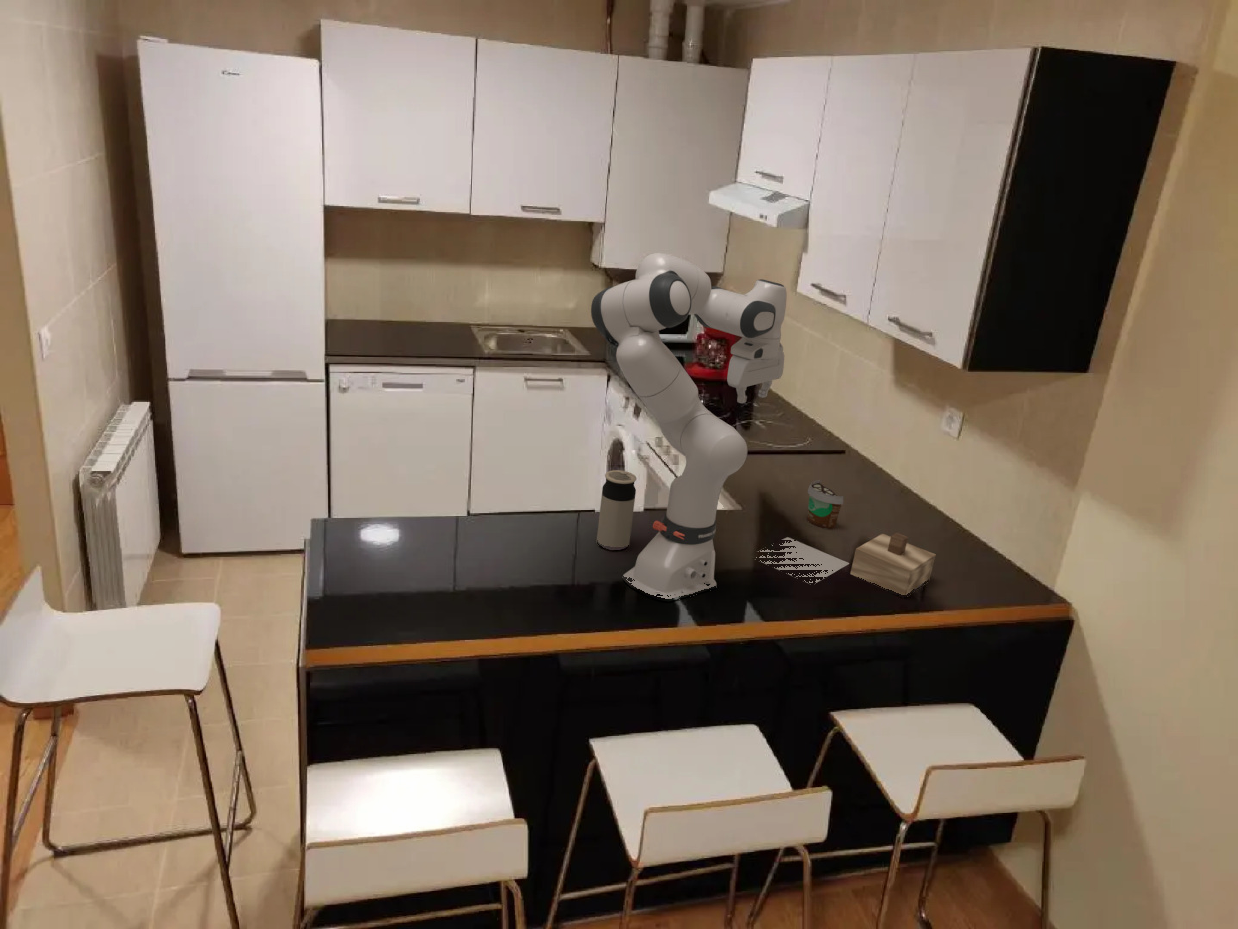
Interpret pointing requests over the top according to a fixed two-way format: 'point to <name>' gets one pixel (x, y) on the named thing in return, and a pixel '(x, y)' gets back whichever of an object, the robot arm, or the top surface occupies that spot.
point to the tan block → (893, 563)
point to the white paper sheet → (807, 559)
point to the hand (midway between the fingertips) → (752, 399)
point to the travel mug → (616, 509)
